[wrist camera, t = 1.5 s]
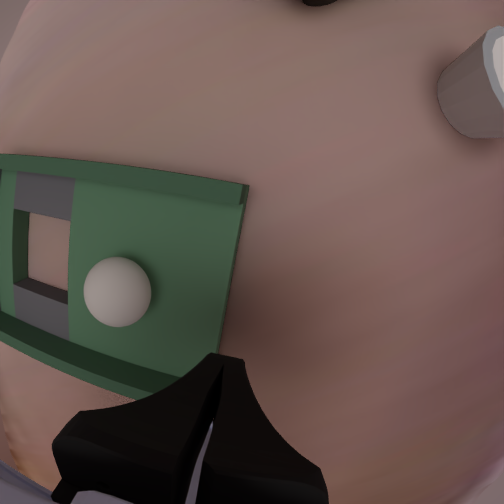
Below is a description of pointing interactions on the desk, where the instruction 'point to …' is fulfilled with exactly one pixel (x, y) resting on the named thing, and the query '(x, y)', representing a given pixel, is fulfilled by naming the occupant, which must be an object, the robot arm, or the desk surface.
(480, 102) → the grey cup
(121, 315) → the golf ball
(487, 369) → the desk surface
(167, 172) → the putting green
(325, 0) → the owl
